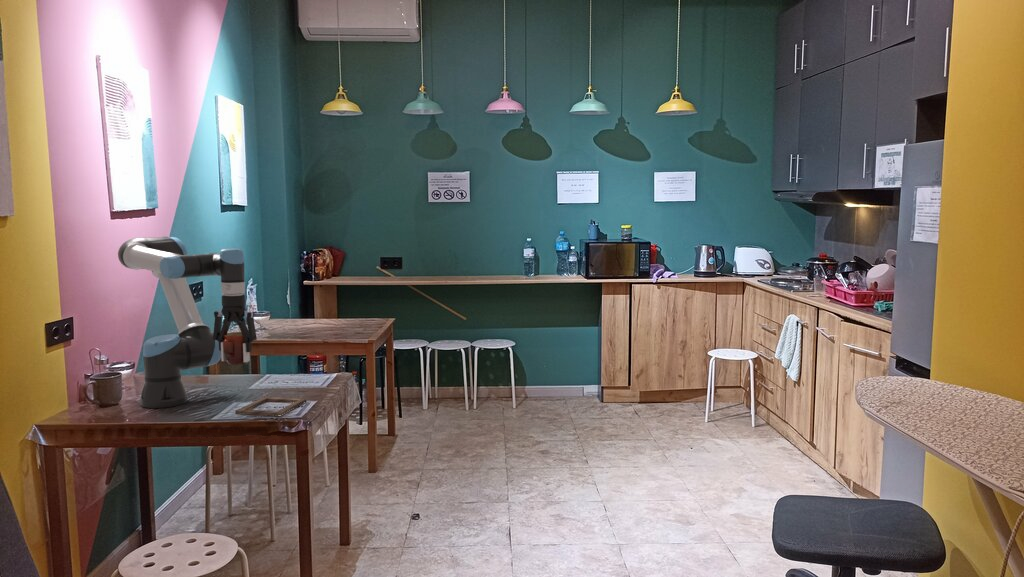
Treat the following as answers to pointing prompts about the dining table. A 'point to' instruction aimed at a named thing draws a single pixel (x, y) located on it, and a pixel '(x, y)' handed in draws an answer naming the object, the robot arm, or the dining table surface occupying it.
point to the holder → (257, 412)
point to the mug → (234, 348)
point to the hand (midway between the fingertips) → (235, 360)
